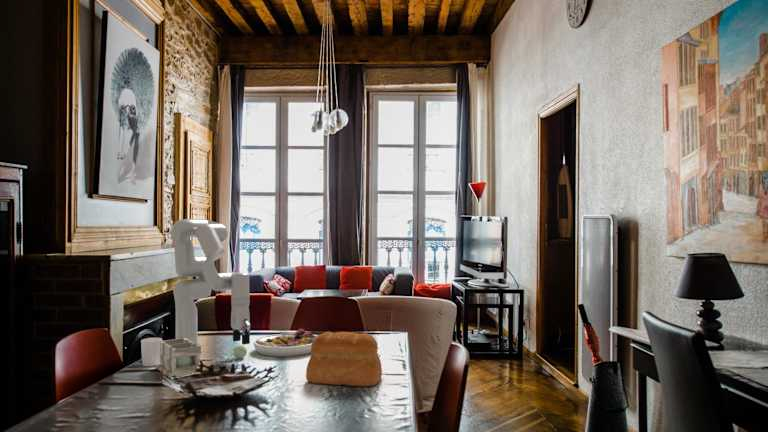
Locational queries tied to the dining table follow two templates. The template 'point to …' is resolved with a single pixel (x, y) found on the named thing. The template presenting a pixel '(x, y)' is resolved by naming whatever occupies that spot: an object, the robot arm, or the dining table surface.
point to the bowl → (285, 344)
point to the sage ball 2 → (240, 351)
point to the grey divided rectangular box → (175, 350)
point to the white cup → (150, 351)
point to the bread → (344, 360)
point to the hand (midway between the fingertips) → (241, 342)
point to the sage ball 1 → (183, 362)
